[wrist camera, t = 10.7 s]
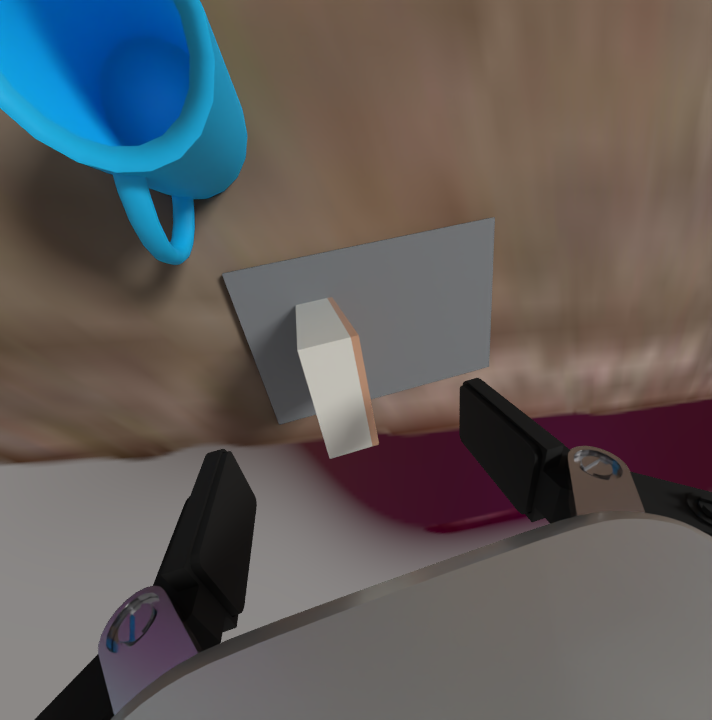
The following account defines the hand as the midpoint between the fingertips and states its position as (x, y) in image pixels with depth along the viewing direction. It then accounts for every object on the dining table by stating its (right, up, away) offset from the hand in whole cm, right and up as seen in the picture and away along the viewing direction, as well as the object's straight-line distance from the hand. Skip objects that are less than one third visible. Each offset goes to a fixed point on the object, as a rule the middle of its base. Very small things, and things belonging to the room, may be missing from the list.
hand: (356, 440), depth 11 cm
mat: (+2, +6, +14) cm, 15 cm away
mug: (-11, +16, +7) cm, 21 cm away
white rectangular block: (-3, +5, +13) cm, 14 cm away
